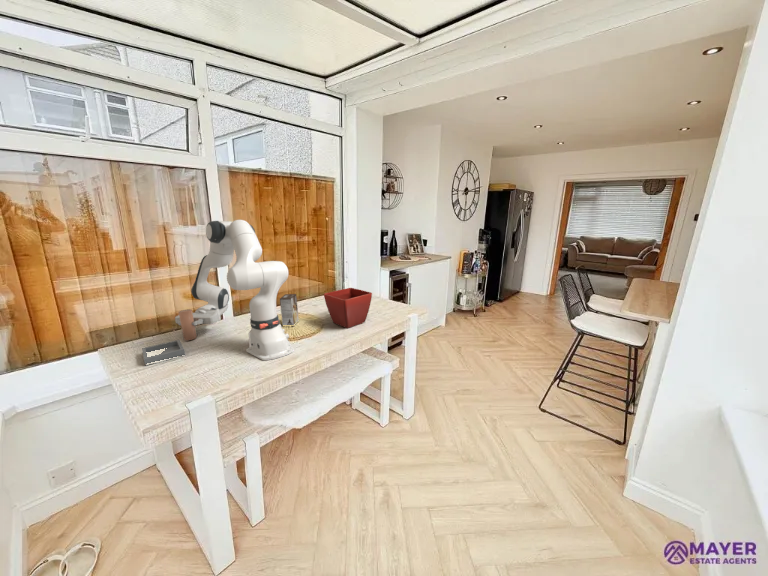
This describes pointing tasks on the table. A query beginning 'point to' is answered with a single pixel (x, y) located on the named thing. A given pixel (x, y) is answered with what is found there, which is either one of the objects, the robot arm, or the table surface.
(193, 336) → the terracotta jar
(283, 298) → the coffee box
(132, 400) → the table surface
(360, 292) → the plant pot
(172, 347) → the box
